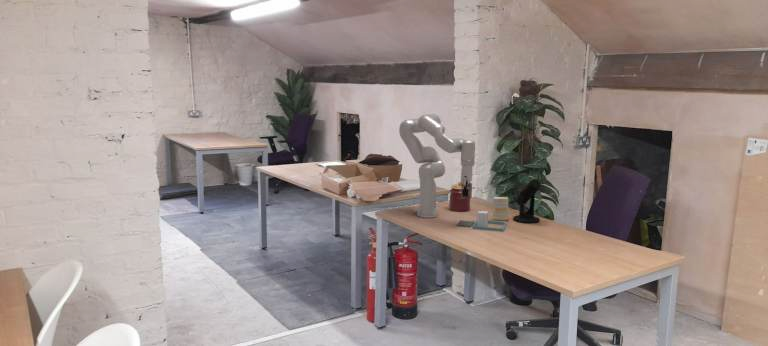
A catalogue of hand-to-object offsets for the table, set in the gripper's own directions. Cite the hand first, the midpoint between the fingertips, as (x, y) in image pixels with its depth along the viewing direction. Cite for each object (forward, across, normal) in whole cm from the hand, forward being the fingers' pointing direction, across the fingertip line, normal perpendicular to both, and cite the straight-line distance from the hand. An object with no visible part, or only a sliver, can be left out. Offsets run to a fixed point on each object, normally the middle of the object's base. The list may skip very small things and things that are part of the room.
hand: (466, 194), depth 308 cm
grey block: (+17, 0, +10) cm, 20 cm away
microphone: (+17, -21, +32) cm, 42 cm away
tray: (+17, 0, +14) cm, 22 cm away
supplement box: (+17, -18, +17) cm, 30 cm away
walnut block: (+2, 0, 0) cm, 2 cm away
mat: (+17, 0, 0) cm, 17 cm away
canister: (+17, -34, -10) cm, 39 cm away
